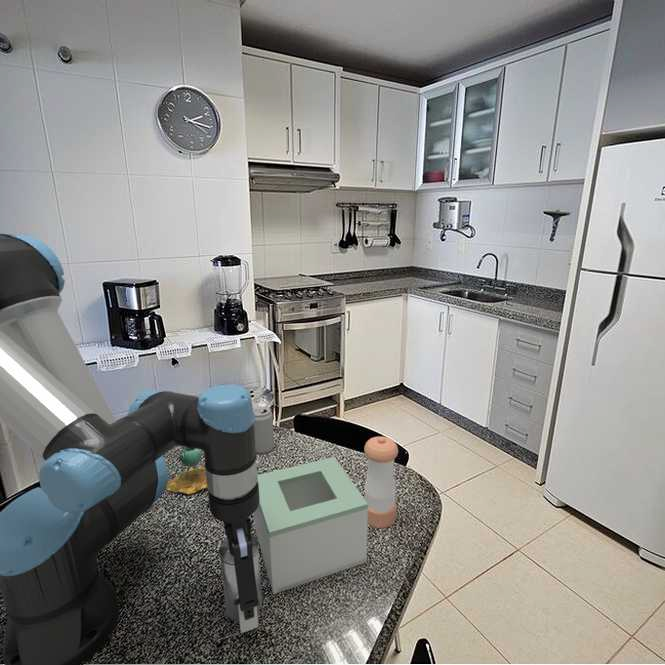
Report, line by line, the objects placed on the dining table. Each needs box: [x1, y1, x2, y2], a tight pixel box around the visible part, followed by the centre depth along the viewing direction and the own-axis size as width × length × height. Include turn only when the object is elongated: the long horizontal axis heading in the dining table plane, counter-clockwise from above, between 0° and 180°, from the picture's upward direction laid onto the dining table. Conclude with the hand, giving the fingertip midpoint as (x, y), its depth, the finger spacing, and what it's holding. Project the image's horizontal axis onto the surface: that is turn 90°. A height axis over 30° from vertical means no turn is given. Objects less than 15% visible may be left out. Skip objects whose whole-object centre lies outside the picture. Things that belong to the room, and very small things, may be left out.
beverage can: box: [253, 405, 275, 454], centre depth 111 cm, size 6×6×12 cm
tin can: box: [218, 533, 263, 623], centre depth 66 cm, size 6×6×12 cm
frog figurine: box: [166, 446, 207, 495], centre depth 97 cm, size 10×18×15 cm, turn 100°
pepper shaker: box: [363, 436, 399, 529], centre depth 84 cm, size 7×7×19 cm
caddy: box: [253, 456, 368, 595], centre depth 77 cm, size 18×16×13 cm
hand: (243, 598), depth 67 cm, fingers open, 10 cm apart
